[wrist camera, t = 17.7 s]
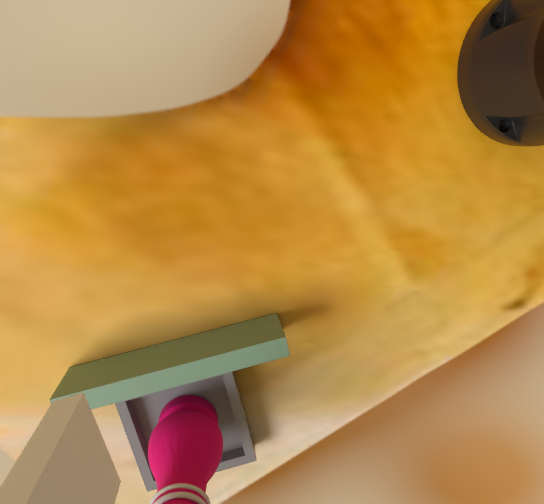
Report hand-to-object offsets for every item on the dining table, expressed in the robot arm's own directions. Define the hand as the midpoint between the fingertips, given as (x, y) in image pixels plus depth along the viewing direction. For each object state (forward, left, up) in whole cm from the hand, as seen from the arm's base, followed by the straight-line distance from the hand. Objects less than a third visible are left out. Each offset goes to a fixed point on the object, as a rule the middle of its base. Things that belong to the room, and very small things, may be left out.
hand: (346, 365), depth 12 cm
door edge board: (+11, +14, -34) cm, 39 cm away
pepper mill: (+12, +22, -34) cm, 42 cm away
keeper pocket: (+12, +22, -34) cm, 42 cm away
